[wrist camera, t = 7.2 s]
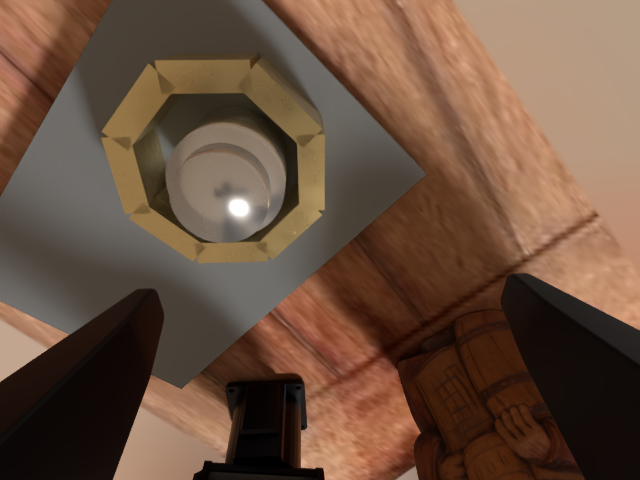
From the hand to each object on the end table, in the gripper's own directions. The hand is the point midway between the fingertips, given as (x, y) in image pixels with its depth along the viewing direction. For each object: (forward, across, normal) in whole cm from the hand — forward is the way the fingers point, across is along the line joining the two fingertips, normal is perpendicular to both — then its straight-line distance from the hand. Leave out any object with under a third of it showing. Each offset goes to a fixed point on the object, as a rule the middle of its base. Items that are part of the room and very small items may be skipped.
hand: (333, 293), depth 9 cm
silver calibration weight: (+11, +4, 0) cm, 12 cm away
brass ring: (+11, +4, 0) cm, 12 cm away
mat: (+13, +8, +4) cm, 16 cm away
